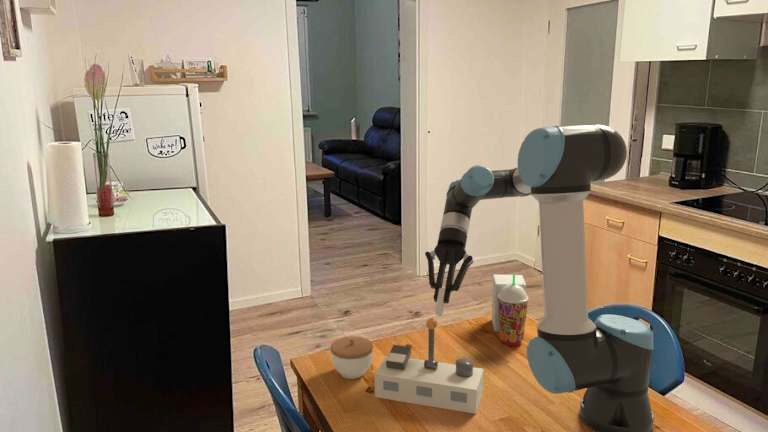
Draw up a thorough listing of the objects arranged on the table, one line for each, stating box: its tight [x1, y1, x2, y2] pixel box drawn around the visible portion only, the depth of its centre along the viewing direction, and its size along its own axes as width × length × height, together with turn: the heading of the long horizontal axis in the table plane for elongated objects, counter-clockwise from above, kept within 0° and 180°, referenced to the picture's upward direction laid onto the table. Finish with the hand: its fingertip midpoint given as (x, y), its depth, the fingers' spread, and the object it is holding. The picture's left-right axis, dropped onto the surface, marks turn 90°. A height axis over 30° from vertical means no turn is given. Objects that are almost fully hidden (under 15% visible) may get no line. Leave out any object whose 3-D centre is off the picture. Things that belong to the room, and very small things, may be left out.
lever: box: [424, 317, 439, 369], centre depth 139 cm, size 3×3×13 cm
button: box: [455, 357, 474, 377], centre depth 138 cm, size 4×4×3 cm
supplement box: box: [491, 273, 527, 332], centre depth 176 cm, size 9×9×15 cm
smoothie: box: [498, 274, 529, 347], centre depth 165 cm, size 8×8×20 cm
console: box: [374, 354, 484, 415], centre depth 140 cm, size 24×10×6 cm, turn 72°
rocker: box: [386, 344, 412, 370], centre depth 143 cm, size 4×6×2 cm
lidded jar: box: [330, 335, 374, 380], centre depth 150 cm, size 11×11×9 cm
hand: (438, 313), depth 149 cm, fingers closed
